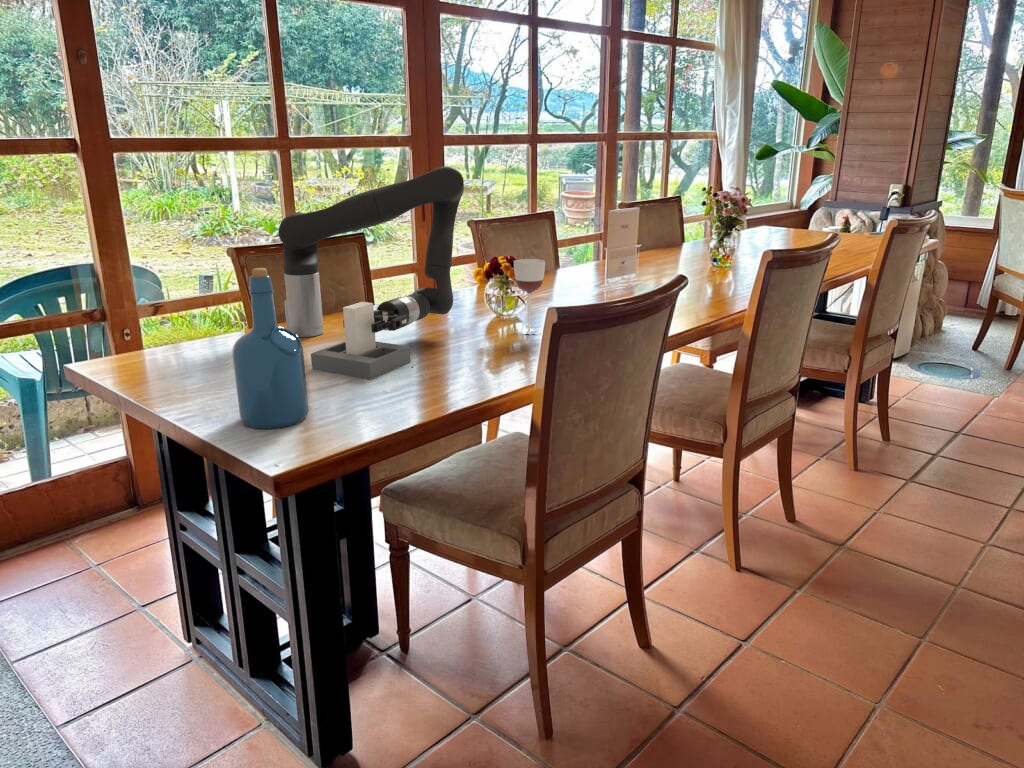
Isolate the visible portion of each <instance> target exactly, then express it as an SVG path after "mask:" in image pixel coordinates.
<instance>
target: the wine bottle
mask: <svg viewBox="0 0 1024 768" xmlns="http://www.w3.org/2000/svg"><path fill="white" fill-rule="evenodd" d="M274 293H275V292H274V288H273V282H272V279H271V276H270V275H269V274H268V270H267V268H264V267H256V268H255V267H254V268H253V269H251V275H250V276H249V295H250V298H251V299H250V300H251V303H250V304H251V315H252V328H251V329H250V331H249V332H247V333H245V334H244V335H241V337H239V338H238V339H237V340H236V341H235V343H234V344H233V347H232V349H231V353H232V354H231V355H232V363H233V371H234V379H235V386H236V396H237V405H238V411H239V416H240V417H239V418H240V421H241V422H242V424H243V425H244V426H247V427H250V428H253V429H271V430H272V429H277V428H285V427H290V426H292V425H295V424H297V423H299V422H302V421H303V420H304V419H305V418H306V417H307V416H308V413H309V409H310V408H309V401H308V389H307V380H306V379H307V377H306V367H305V366H306V365H305V358H304V357H305V356H304V354H305V353H304V348H303V345H302V340H301V339H300V338H301V337H298V336H297V335H296V334H295V333H293V332H291V331H290V330H288V329H287V327H283V326H278V322H277V316H276V315H277V314H276V309H275V302H274V301H275V300H274V295H273V294H274Z"/></svg>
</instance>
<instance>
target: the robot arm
mask: <svg viewBox="0 0 1024 768" xmlns="http://www.w3.org/2000/svg"><path fill="white" fill-rule="evenodd" d="M464 180H465V179H464V178H463V174H462V173H461V172H460V171H459V170H458V169H456V168H455V167H454V166H445V165H444V166H441V167H437V168H435V169H433V170H431V171H429V172H426V173H424V174H422V175H419V176H417V177H413V178H412V179H408V180H405V181H400V182H395V183H391V184H389V185H384V186H380V187H377V188H372V189H370V190H366V191H363V192H360V193H357V194H355V195H352V196H350V197H347V198H344V199H343V200H340V201H339V202H337V203H335V204H333V205H331V206H329V207H326V208H324V209H323V208H321V209H319V210H315V211H311V212H310V211H309V212H304V213H303V212H300V211H296V212H292V213H290V214H288V215H286V216H285V217H284V218H283V219H282V220H281V222H280V223H279V226H278V237H279V240H280V241H281V243H282V246H283V247H282V248H283V275H284V282H285V283H284V285H285V286H284V287H285V293H286V299H284V301H283V302H284V315H285V325H286V329H288V330H290V331H291V332H293V333H295V334H296V335H297V336H298V337H299V338H308V337H309V338H310V337H316V336H319V335H322V334H323V333H324V332H325V331H324V320H323V308H322V307H323V305H322V295H321V283H320V271H319V269H320V268H319V247H318V246H319V245H318V242H321V241H323V240H326V239H328V238H331V237H334V236H336V235H341V234H347V233H351V232H355V231H360V230H364V229H367V228H371V227H375V226H378V225H380V224H381V225H382V224H385V223H388V222H391V221H392V220H394V219H397V218H399V217H400V216H402V215H405V214H406V213H407V212H409V211H411V210H413V209H415V208H417V207H420V206H423V205H424V206H425V205H427V204H432V219H431V221H432V222H431V227H430V232H429V236H428V242H427V247H426V253H425V255H426V256H425V263H424V276H425V277H426V278H428V279H431V280H434V281H435V284H436V287H420V288H418V289H416V290H415V291H414V292H412V293H411V294H409V295H405V296H398V297H396V298H393V299H390V300H386V301H383V302H381V303H380V304H379V305H378V307H377V308H376V309H374V323H373V324H372V325H371V327H372V332H373V333H375V334H376V333H379V332H381V331H389V332H390V331H393V332H395V331H397V330H400V329H402V328H404V327H406V326H409V325H411V324H413V323H414V322H417V321H420V320H422V319H424V318H425V317H427V316H428V315H429V314H435V315H446V314H448V313H449V312H450V311H451V310H452V308H453V304H454V293H453V289H452V280H451V278H452V277H451V267H452V259H453V249H454V231H455V230H454V229H455V222H456V217H457V212H458V209H459V205H460V202H461V198H462V196H463V194H464V191H465V183H464V182H465V181H464ZM342 324H343V325H342V327H343V328H344V319H343V320H342Z"/></svg>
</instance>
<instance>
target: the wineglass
mask: <svg viewBox="0 0 1024 768" xmlns="http://www.w3.org/2000/svg"><path fill="white" fill-rule="evenodd" d="M545 269H546V261H545V260H543V259H538V258H521V259H516V260H513V270H514V271H513V272H514V277H515V283H516V285H517V287H518V288H519V289H520V290H522V291H524V292H526V293H527V328H523V329H524V330H522V331H523V332H531V331H535V330H533V329H534V328H531V323H532V321H531V319H532V317H531V316H532V315H531V310H532V308H531V307H532V306H531V305H532V303H531V302H532V300H531V297H532V295H531V294H532V293H533V292H535V291H537V290H538V289H540V288H541V287H542V285H543V282H544V278H545V271H546V270H545Z"/></svg>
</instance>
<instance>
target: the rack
mask: <svg viewBox="0 0 1024 768" xmlns="http://www.w3.org/2000/svg"><path fill="white" fill-rule="evenodd" d="M375 343H376V348H375V349H373V350H370V351H368V352H365V353H363V354H360V355H358V356H357V355H351V354H346V342H345V341H342V342H338V343H336V344H333V345H331V346H328V347H325V348H322V349H320V350H317V351H313V352H312V353H310V360H311V370H312V369H313V371H317V370H318V371H319V372H324V373H329V374H336V375H341V376H348V377H353V378H359V379H364V380H370V381H371V380H373V379H376V378H378V377H380V376H383V375H385V374H387V373H389V372H392V371H394V370H395V369H398V368H400V367H403V366H405V365H407V364H410V363H411V361H412V360H411V346H409V345H404V344H403V345H401V344H395V343H390V342H389V343H388V342H383V341H376V340H375Z"/></svg>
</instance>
